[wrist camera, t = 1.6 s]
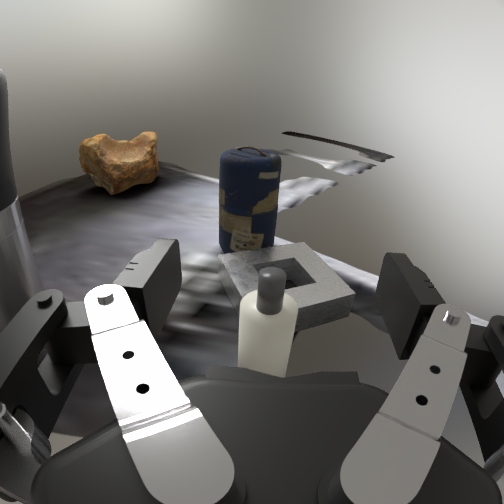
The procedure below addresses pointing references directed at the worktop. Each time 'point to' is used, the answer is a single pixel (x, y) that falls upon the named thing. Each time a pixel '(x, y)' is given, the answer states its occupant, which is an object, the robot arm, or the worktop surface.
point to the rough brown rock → (120, 161)
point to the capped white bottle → (267, 325)
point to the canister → (248, 198)
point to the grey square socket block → (299, 272)
